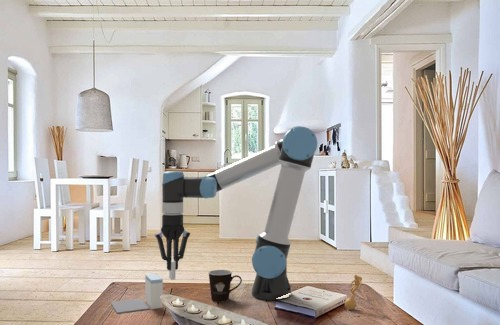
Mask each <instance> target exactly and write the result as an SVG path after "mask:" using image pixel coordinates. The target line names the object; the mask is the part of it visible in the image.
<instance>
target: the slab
mask: <svg viewBox="0 0 500 325" xmlns="http://www.w3.org/2000/svg"><path fill="white" fill-rule="evenodd" d="M144 280H145V281H144V282H145V283H144V284H145V285H144V286H145V287H144V288H145V292H144V297H145V298H144V302H145V303H146V304H147V306H148V307H149V308H150V310H155V309H163V303H162V301H161V299H160V296H161V295H163V292H164V291H163V283H164V280H163V278H162V276H160V275H158V274H157V273H150V274H148V273H147V274H145V278H144Z"/></svg>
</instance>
